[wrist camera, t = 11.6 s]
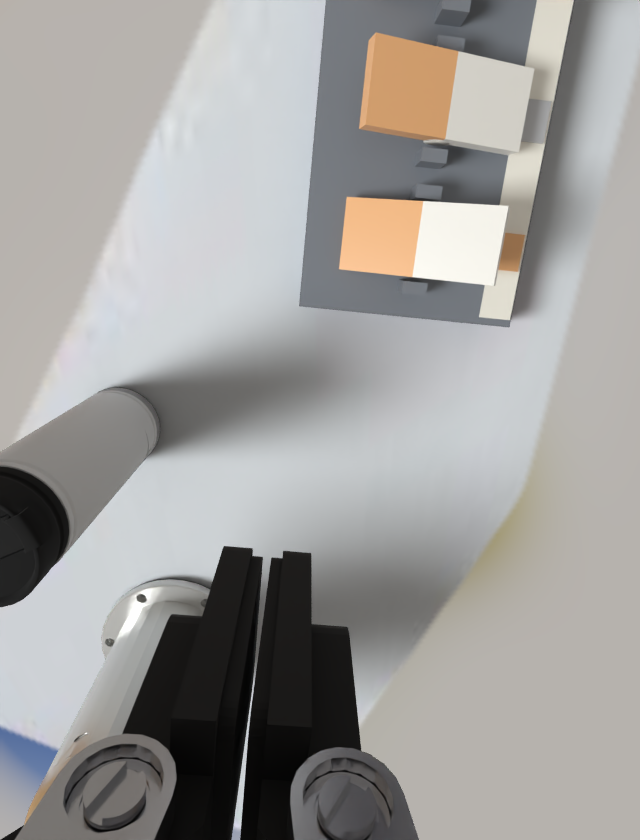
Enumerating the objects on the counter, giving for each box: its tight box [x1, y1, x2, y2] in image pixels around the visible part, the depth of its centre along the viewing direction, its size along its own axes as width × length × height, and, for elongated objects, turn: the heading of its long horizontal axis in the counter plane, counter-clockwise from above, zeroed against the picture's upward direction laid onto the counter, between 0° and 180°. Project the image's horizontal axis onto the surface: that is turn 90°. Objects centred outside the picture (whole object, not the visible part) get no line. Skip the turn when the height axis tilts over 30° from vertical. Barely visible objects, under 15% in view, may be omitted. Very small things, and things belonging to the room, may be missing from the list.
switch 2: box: [339, 197, 510, 286], centre depth 34 cm, size 4×10×2 cm, turn 84°
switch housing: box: [299, 0, 575, 327], centre depth 34 cm, size 26×15×5 cm, turn 174°
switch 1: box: [359, 33, 534, 155], centre depth 32 cm, size 4×10×2 cm, turn 84°
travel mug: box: [0, 388, 160, 607], centre depth 33 cm, size 6×7×20 cm
